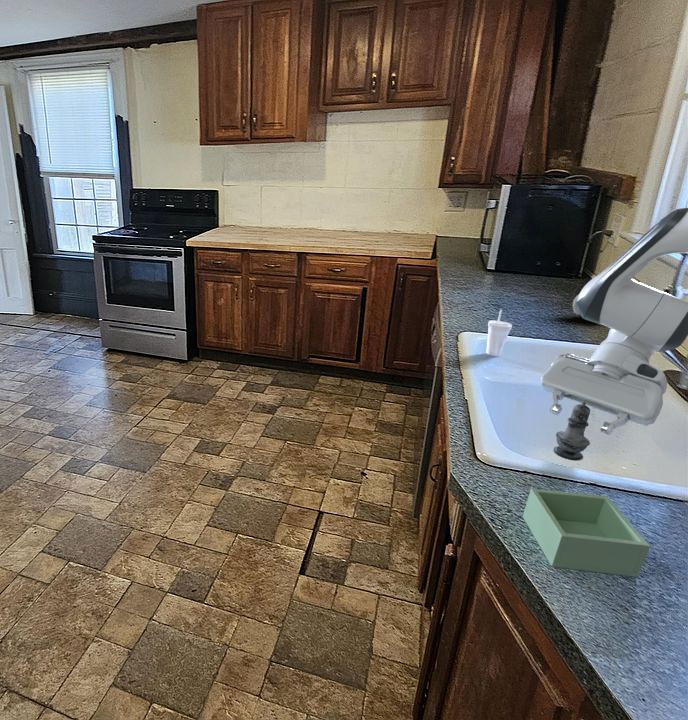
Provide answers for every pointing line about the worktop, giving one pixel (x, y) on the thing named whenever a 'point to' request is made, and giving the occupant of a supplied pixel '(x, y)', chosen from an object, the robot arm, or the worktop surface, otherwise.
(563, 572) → the worktop surface
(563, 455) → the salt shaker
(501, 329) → the smoothie
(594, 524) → the bin
